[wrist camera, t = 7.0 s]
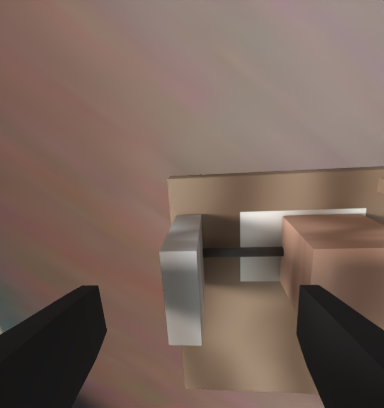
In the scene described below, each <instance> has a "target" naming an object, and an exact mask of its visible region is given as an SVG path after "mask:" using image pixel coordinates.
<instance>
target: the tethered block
mask: <svg viewBox="0 0 384 408" xmlns="http://www.w3.org/2000/svg"><path fill="white" fill-rule="evenodd" d="M159 253H160V263H161V273H162V282H163V292H164V301H165V311H166V320H167V330H168V339H169V345H192V346H202V332H203V310H204V288H205V280H204V260H203V257H276V256H281V261H280V282H281V284H282V286H283V288H284V290H285V292H286V294H287V296H288V298H289V300H290V302H291V304H292V307H293V309H294V311H295V313H296V315H297V316H298V302H299V287H300V285H320V286H321V287H323V288H324V289H326V290H327V291H329V292H330V293H332V294H333V295H334V296H336V297H337V298H339V299H340V300H341V301H343V302H344V303H346V304H347V305H349V306H350V307H351V308H353V309H354V310H356V311H357V312H358V313H360V314H361V315H363V316H364V317H366V318H367V319H368V320H370V321H371V322H373V323H374V324H376V325H377V326H379V327H380V328H381V329H383V330H384V225H382V224H380V223H378V222H376V221H374V220H372V219H370V218H368V217H366V216H364V215H362V214H333V215H299V216H283V218H282V240H281V247H234V248H203V240H202V220H201V215H176V217H175V219H174V221H173V223H172V225H171V228H170V230H169V232H168V234H167V236H166V238H165V241H164V243H163V245H162V247H161V249H160V251H159Z"/></svg>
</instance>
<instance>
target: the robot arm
mask: <svg viewBox="0 0 384 408" xmlns="http://www.w3.org/2000/svg"><path fill="white" fill-rule="evenodd" d="M106 332H107V329H106V324H105V318H104V313H103V308H102V303H101V298H100V293H99V288H98V286H81V287H79V288H77V289H75V290H73V291H72V292H70V293H68V294H66V295H65V296H63V297H62V298H60V299H58V300H57V301H55V302H53V303H52V304H50V305H49V306H47V307H45V308H44V309H42V310H40V311H39V312H37V313H36V314H34V315H32V316H31V317H29V318H27V319H26V320H24V321H23V322H21V323H19V324H18V325H16V326H14V327H13V328H11V329H9V330H7V331H6V332H4V333H2V334H1V335H0V408H71V406H72V404H73V403H74V401H75V399H76V397H77V395H78V393H79V391H80V389H81V387H82V386H83V384H84V382H85V380H86V378H87V376H88V374H89V372H90V370H91V368H92V366H93V364H94V362H95V360H96V358H97V355H98V353H99V350H100V348H101V345H102V343H103V340H104V337H105V335H106ZM296 335H297V338H298V341H299V344H300V347H301V351H302V354H303V357H304V360H305V363H306V366H307V368H308V370H309V373H310V375H311V377H312V380H313V382H314V384H315V386H316V389H317V391H318V393H319V395H320V398H321V400H322V402H323V404H324V407H325V408H384V330H383V329H381V328H380V327H379V326H377V325H376V324H374V323H373V322H371V321H370V320H368V319H367V318H366V317H364V316H363V315H361V314H360V313H358V312H357V311H356V310H354V309H353V308H351V307H350V306H349V305H347V304H346V303H344V302H343V301H341V300H340V299H339V298H337V297H336V296H334V295H333V294H332V293H330V292H329V291H327V290H326V289H324V288H323V287H321V286H320V285H300V287H299V302H298V316H297V331H296Z"/></svg>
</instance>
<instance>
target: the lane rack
mask: <svg viewBox="0 0 384 408" xmlns="http://www.w3.org/2000/svg"><path fill="white" fill-rule="evenodd" d="M167 183H168V195H169V206H170V218H171V225H172V223H173V221H174V219H175V217H176V215H201V220H202V240H203V248H234V247H281V240H282V218H283V216H299V215H333V214H362V215H364V216H366V217H368V218H370V219H372V220H374V221H376V222H378V223H380V224H382V225H384V166H381V167H360V168H338V169H317V170H296V171H274V172H253V173H231V174H210V175H189V176H170V177H169V178H168V179H167ZM203 260H204V280H205V288H204V310H203V332H202V346H192V345H182V356H183V367H184V379H185V389H206V390H231V391H257V392H283V393H308V394H319V393H318V391H317V389H316V386H315V384H314V382H313V380H312V377H311V375H310V373H309V370H308V368H307V366H306V363H305V360H304V357H303V354H302V351H301V347H300V344H299V341H298V338H297V335H296V331H297V315H296V313H295V311H294V309H293V307H292V304H291V302H290V300H289V298H288V296H287V294H286V292H285V290H284V288H283V286H282V284H281V282H280V261H281V256H276V257H203Z"/></svg>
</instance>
